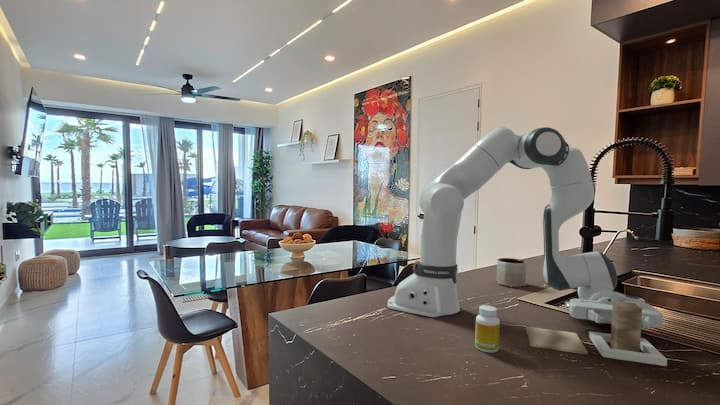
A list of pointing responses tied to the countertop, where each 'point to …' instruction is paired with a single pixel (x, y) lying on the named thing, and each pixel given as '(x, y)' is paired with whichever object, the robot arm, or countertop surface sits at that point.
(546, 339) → the oak board
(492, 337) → the supplement bottle
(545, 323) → the countertop surface
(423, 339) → the countertop surface
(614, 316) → the walnut block
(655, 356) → the frame
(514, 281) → the planter
